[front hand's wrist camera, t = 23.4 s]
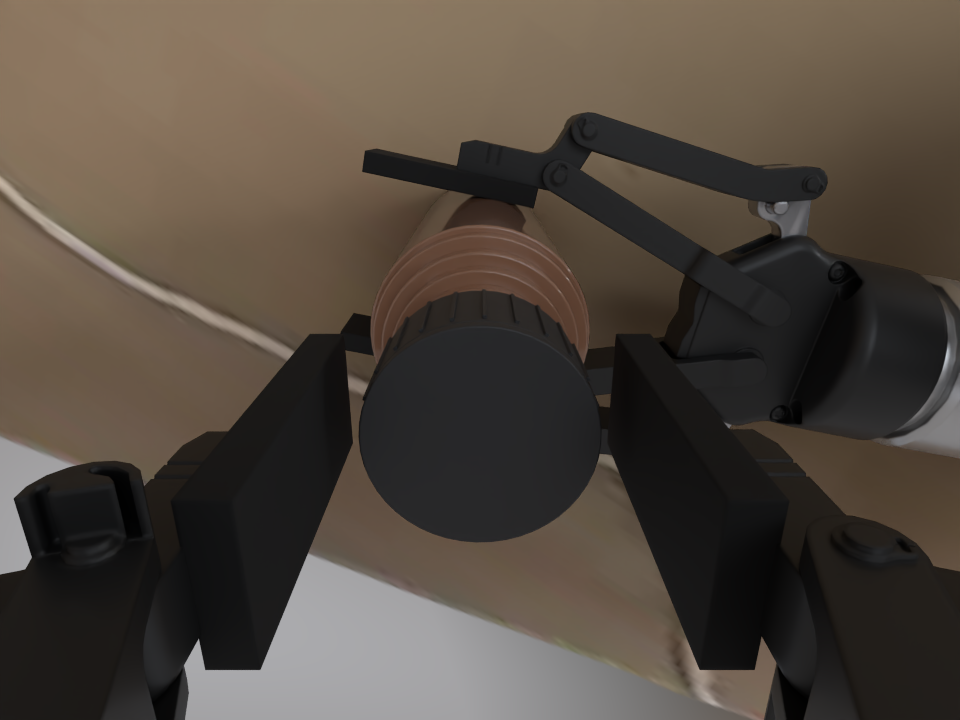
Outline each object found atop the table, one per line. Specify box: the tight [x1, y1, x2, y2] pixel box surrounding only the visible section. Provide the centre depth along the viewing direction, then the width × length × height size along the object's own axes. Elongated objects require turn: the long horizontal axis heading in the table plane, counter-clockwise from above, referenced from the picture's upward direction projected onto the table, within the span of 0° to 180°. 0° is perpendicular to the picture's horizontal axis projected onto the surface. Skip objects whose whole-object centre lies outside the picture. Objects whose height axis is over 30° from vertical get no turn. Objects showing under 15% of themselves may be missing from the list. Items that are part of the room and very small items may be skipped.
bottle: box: [371, 190, 590, 364], centre depth 22 cm, size 6×6×20 cm
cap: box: [359, 289, 602, 542], centre depth 13 cm, size 5×5×3 cm
